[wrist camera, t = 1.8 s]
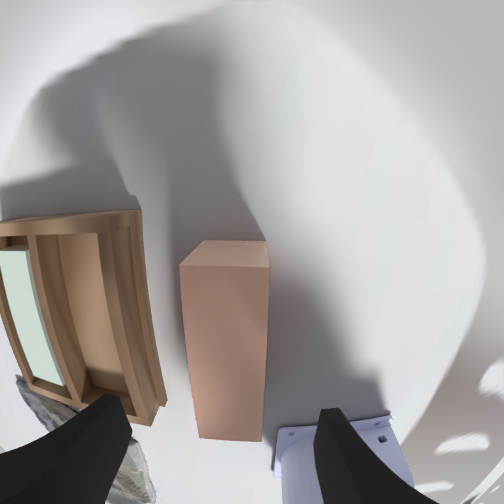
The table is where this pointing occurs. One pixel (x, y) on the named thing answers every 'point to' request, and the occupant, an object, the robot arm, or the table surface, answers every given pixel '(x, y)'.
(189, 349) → the clay bar
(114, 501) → the table surface
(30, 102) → the table surface
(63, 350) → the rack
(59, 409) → the fossil rock
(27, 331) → the glazed tile
